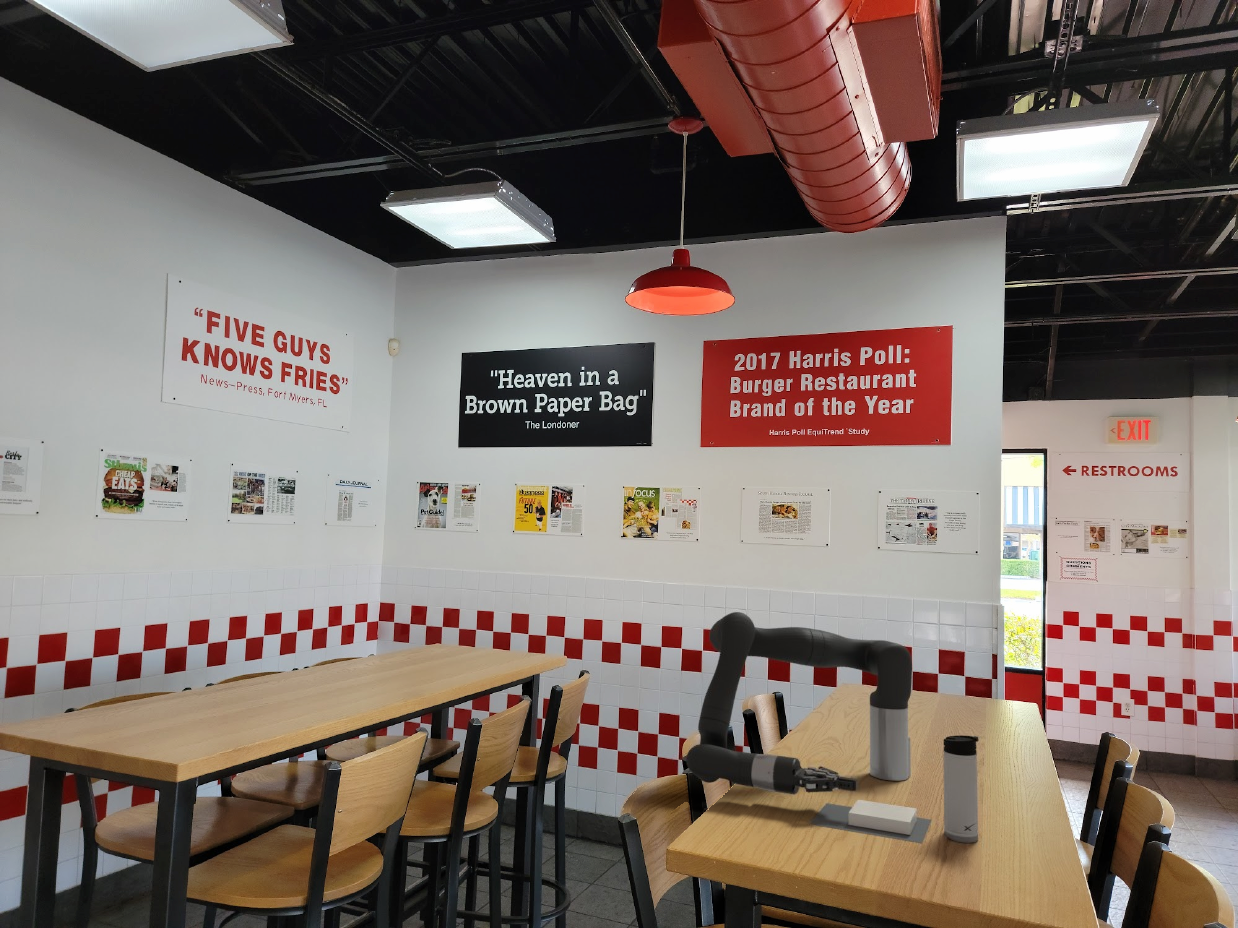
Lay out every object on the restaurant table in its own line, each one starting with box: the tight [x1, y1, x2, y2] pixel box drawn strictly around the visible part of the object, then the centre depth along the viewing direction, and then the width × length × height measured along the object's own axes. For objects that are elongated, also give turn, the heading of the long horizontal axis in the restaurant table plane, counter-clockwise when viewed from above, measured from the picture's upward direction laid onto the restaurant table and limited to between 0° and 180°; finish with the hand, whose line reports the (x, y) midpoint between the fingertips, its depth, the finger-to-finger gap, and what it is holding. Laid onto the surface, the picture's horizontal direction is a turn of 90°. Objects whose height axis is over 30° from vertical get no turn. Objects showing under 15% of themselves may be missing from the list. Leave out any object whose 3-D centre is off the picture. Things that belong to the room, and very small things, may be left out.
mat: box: [808, 802, 932, 844], centre depth 176 cm, size 22×16×1 cm
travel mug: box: [942, 734, 979, 844], centre depth 170 cm, size 6×7×20 cm
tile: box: [849, 799, 918, 835], centre depth 176 cm, size 3×10×12 cm
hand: (856, 784), depth 178 cm, fingers closed
